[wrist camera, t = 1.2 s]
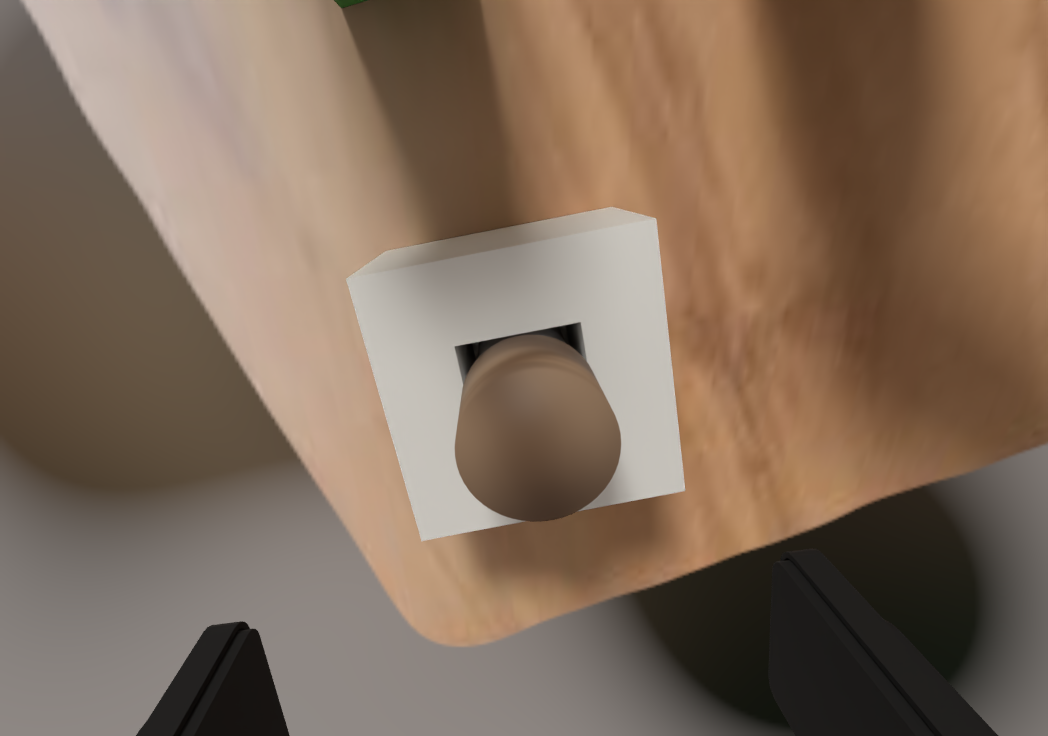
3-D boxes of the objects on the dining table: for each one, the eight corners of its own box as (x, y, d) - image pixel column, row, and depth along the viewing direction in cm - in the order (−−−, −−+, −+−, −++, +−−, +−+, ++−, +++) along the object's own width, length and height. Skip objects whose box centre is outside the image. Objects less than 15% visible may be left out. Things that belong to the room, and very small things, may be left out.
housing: (611, 206, 35) (656, 218, 25) (638, 414, 39) (685, 490, 30) (385, 250, 35) (345, 278, 25) (438, 453, 39) (421, 541, 30)
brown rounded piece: (562, 282, 35) (609, 355, 21) (578, 379, 37) (630, 505, 23) (459, 302, 35) (437, 388, 21) (481, 397, 37) (473, 534, 23)
